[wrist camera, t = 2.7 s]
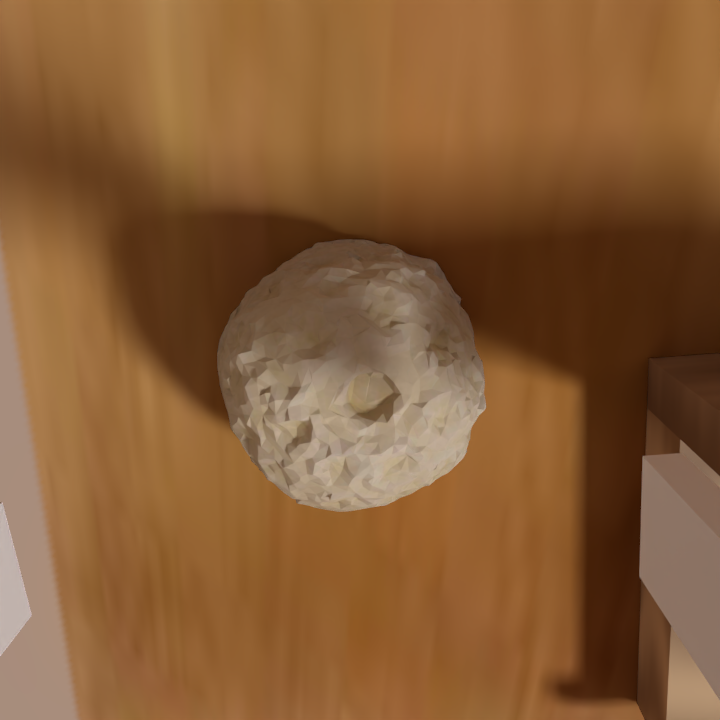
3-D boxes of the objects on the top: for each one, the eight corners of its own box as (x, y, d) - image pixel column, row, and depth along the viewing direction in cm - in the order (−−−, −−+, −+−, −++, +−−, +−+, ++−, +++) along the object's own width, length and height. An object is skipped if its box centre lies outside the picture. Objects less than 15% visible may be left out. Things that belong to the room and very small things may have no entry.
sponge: (399, 224, 28) (254, 124, 19) (574, 376, 24) (491, 336, 15) (269, 388, 30) (86, 365, 22) (409, 552, 26) (255, 606, 17)
